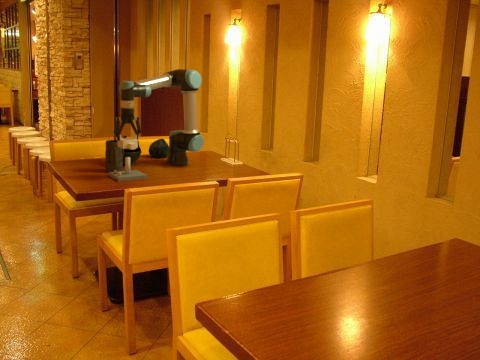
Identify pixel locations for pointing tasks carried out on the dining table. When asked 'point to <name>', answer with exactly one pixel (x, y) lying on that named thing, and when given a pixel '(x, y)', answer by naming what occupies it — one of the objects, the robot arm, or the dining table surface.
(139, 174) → the post board
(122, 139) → the square ring
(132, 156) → the coal bowl
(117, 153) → the beer stein
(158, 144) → the squash
